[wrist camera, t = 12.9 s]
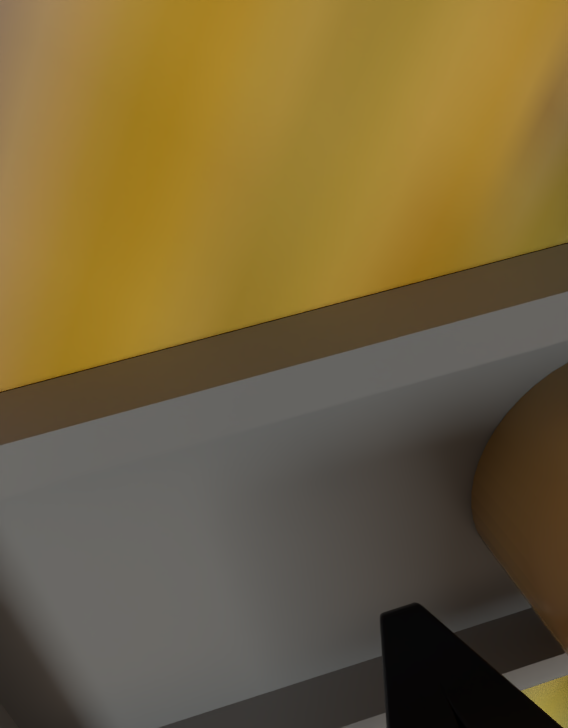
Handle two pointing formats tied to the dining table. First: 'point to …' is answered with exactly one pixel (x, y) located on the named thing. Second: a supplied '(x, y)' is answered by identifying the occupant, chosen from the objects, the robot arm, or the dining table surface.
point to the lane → (269, 510)
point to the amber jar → (530, 499)
